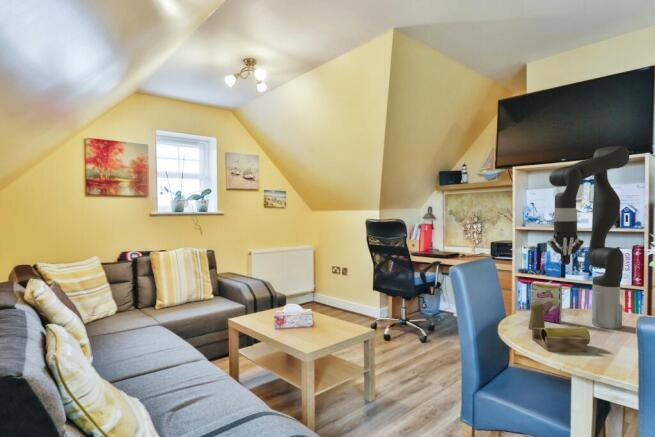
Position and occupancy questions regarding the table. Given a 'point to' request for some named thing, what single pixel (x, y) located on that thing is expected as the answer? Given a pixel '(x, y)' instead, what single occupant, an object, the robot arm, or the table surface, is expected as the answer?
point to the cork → (536, 315)
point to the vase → (565, 333)
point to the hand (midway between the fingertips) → (565, 264)
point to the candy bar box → (548, 299)
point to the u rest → (560, 342)
